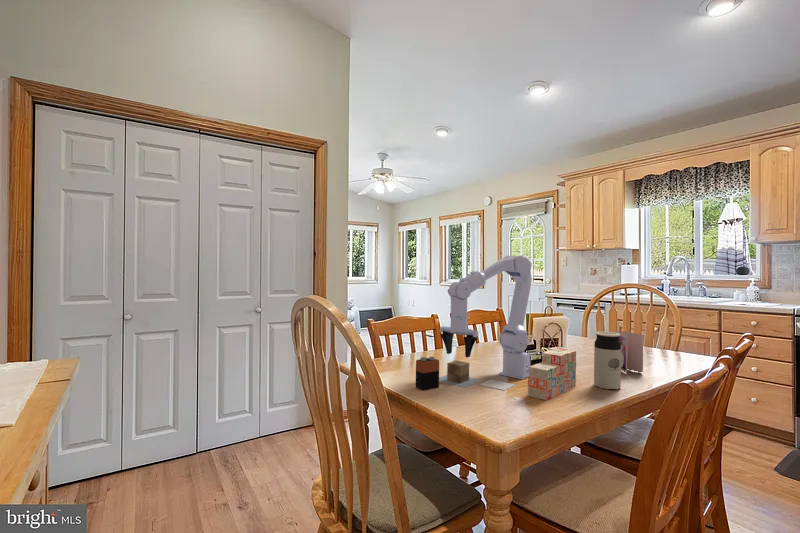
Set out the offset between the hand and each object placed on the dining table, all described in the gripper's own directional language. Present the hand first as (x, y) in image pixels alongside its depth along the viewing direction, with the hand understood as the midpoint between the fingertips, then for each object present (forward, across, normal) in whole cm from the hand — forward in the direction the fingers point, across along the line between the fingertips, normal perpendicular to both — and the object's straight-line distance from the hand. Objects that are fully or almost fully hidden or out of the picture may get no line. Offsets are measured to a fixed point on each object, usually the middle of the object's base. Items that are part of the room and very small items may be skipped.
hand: (458, 355), depth 141 cm
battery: (+9, -3, -14) cm, 17 cm away
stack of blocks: (+9, +29, +11) cm, 32 cm away
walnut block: (+9, 0, 0) cm, 9 cm away
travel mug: (+9, +41, +28) cm, 50 cm away
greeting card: (+9, +42, +55) cm, 70 cm away
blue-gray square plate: (+9, 0, 0) cm, 9 cm away
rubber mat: (+9, +13, +4) cm, 16 cm away
